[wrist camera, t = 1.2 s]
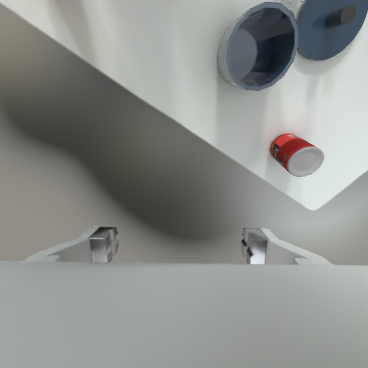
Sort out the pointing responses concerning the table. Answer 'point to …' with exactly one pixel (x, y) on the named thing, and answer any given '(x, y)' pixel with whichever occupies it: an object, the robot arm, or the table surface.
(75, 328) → the robot arm
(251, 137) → the table surface
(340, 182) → the table surface
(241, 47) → the pot
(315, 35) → the lid
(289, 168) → the canned food
